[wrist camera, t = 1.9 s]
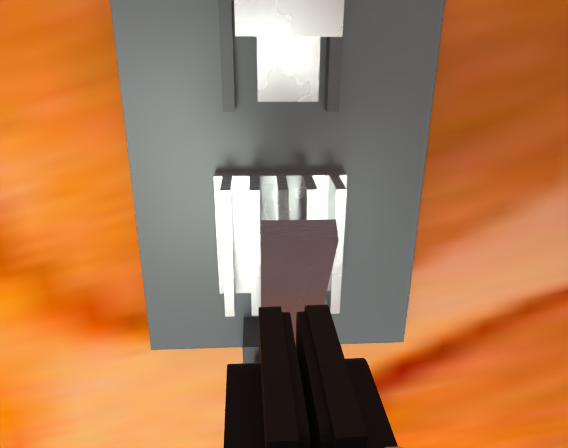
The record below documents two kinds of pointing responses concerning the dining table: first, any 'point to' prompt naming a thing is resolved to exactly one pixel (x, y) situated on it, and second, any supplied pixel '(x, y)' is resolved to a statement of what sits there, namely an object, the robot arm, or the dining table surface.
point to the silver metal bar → (296, 263)
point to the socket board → (273, 155)
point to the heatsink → (271, 206)
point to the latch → (288, 43)
